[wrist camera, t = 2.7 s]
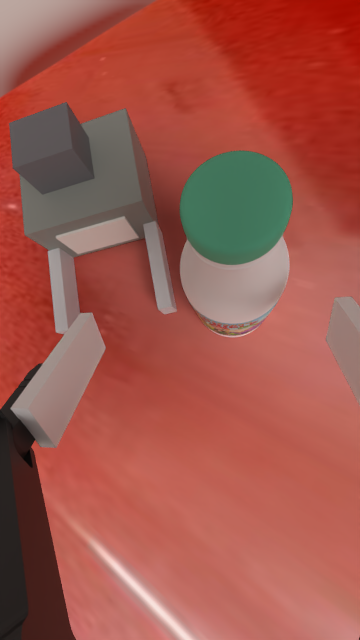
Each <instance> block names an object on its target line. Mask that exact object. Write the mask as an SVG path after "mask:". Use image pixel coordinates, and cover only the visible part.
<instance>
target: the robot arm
mask: <svg viewBox="0 0 360 640" xmlns="http://www.w3.org/2000/svg"><path fill="white" fill-rule="evenodd" d="M326 341H327V343H328V345H329V347H330V349H331V351H332V353H333V355H334V357H335V359H336V361H337V363H338V365H339V367H340V369H341V370H342V372H343V374H344V376H345V378H346V380H347V382H348V384H349V386H350V388H351V390H352V392H353V394H354V396H355V397H356V399H357V401H358V403H359V405H360V307H359V305H358V304H357V303H356V302H355V300H354V299H353V298H352V297H336V298H335V299H334V304H333V308H332V313H331V318H330V322H329V327H328V332H327V336H326ZM105 349H106V347H105V344H104V342H103V339H102V337H101V334H100V332H99V329H98V327H97V324H96V321H95V319H94V316H93V314H92V313H80V314H79V315H78V317H77V318H76V319H75V321H74V322H73V324H72V325H71V326H70V328H69V329H68V330H67V332H66V333H65V334H64V336H63V337H62V339H61V340H60V341H59V343H58V344H57V345H56V347H55V348H54V349H53V351H52V352H51V354H50V355H49V356H48V358H47V359H46V360H45V362H44V363H43V364H38V365H37V366H36V367H34V368H33V369H32V370H31V371H30V372H29V373H28V374H27V375H26V377H25V378H24V381H22V382H21V383H20V385H19V386H18V388H17V389H16V390H15V391H14V393H13V394H12V395H11V396H10V398H9V399H8V400H7V402H6V403H5V404H4V406H3V407H2V408H1V410H0V640H76V639H75V637H74V635H73V633H72V630H71V627H70V623H69V618H68V613H67V608H66V603H65V599H64V594H63V589H62V584H61V579H60V575H59V570H58V565H57V560H56V555H55V551H54V546H53V541H52V536H51V531H50V527H49V522H48V517H47V512H46V507H45V503H44V498H43V493H42V488H41V483H40V479H39V474H38V469H37V464H36V460H35V455H34V451H33V449H32V448H31V446H32V444H33V442H34V441H35V440H36V441H37V443H38V444H39V445H40V447H54V448H56V447H57V445H58V443H59V441H60V439H61V437H62V435H63V433H64V431H65V429H66V427H67V425H68V423H69V421H70V419H71V417H72V415H73V413H74V411H75V409H76V407H77V405H78V403H79V401H80V399H81V397H82V395H83V393H84V391H85V389H86V387H87V385H88V383H89V381H90V379H91V377H92V375H93V373H94V371H95V369H96V367H97V365H98V363H99V361H100V359H101V357H102V355H103V353H104V351H105ZM359 640H360V637H359Z"/></svg>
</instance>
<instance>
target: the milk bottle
mask: <svg viewBox="0 0 360 640" xmlns="http://www.w3.org/2000/svg"><path fill="white" fill-rule="evenodd" d="M292 205H293V197H292V189H291V185H290V182H289V179H288V177H287V175H286V173H285V172H284V171H283V169H282V168H281V167H280V166H279V165H278V164H277V163H276V162H274V161H273V160H272V159H270V158H268V157H267V156H264V155H262V154H259V153H256V152H251V151H231V152H226V153H223V154H219V155H217V156H215V157H213V158H211V159H209V160H207V161H206V162H204V163H203V164H201V165H200V166H199V167H198V168H197V169H196V170H195V171H194V172H193V173H192V174H191V176H190V177H189V179H188V180H187V182H186V184H185V186H184V188H183V191H182V195H181V200H180V218H181V222H182V226H183V229H184V232H185V234H186V237H187V241H186V243H185V245H184V248H183V251H182V255H181V260H180V277H181V283H182V287H183V290H184V292H185V294H186V297H187V299H188V301H189V302H190V304H191V306H192V307H193V309H194V310H195V312H196V313H197V315H198V316H199V318H200V319H201V321H202V322H203V323H204V325H205V326H206V327H207V328H208V329H210V330H211V331H212V332H214V333H216V334H218V335H221V336H224V337H240V336H244V335H247V334H249V333H251V332H252V331H254V330H255V329H256V328H257V327H259V326H260V325H261V323H262V322H263V321H264V320H265V318H266V317H267V316H268V315H269V313H270V312H271V311H272V309H273V308H274V307H275V305H276V304H277V302H278V300H279V299H280V297H281V295H282V293H283V291H284V289H285V286H286V283H287V280H288V275H289V266H290V265H289V254H288V249H287V246H286V243H285V241H284V238H283V233H284V231H285V229H286V227H287V224H288V221H289V218H290V215H291V211H292Z"/></svg>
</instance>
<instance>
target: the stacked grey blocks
mask: <svg viewBox="0 0 360 640" xmlns="http://www.w3.org/2000/svg"><path fill="white" fill-rule="evenodd" d="M9 125H10V138H11V150H12V163H13V169H14V170H15V171H17V172H18V173H19V174H20V185H21V197H22V209H23V221H24V233H25V236H27V237H29V238H30V239H32V240H33V241H35V242H37V243H38V244H40V245H42V246H43V247H45V248H46V249H48V250H50V251H48V258H49V268H50V278H51V288H52V298H53V308H54V318H55V328H56V333H60V334H65V333H66V332H67V330H68V329H69V328H70V326H71V325H72V324H73V322H74V321H75V319H76V318H77V317H78V315H79V314H80V308H79V300H78V291H77V283H76V275H75V266H74V258H73V257H77V256H81V255H84V254H88V253H92V252H95V251H99V250H103V249H107V248H110V247H114V246H118V245H121V244H125V243H129V242H132V241H136V240H140V239H143V238H145V239H146V244H147V250H148V256H149V261H150V267H151V273H152V278H153V284H154V290H155V296H156V301H157V307H158V310H159V311H161V312H162V313H163V314H169V313H173V312H177V308H176V303H175V298H174V293H173V287H172V282H171V277H170V271H169V266H168V261H167V256H166V250H165V245H164V240H163V234H162V232H161V230H160V228H159V224H158V219H157V213H156V208H155V203H154V197H153V192H152V187H151V181H150V176H149V171H148V165H147V160H146V156H145V154H144V151H143V149H142V147H141V144H140V142H139V139H138V137H137V134H136V132H135V130H134V127H133V125H132V122H131V120H130V117H129V115H128V113H127V110H126V108H125V109H122V110H119V111H116V112H113V113H110V114H108V115H105V116H102V117H99V118H96V119H93V120H91V121H88V122H85V123H82V124H80V123H79V121H78V120H77V118H76V116H75V115H74V113H73V112H72V110H71V108H70V107H69V105H68V104H67V102H65V103H62V104H60V105H57V106H54V107H52V108H49V109H46V110H43V111H41V112H38V113H35V114H33V115H30V116H27V117H24V118H22V119H19V120H16V121H13V122H11V123H9Z"/></svg>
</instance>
